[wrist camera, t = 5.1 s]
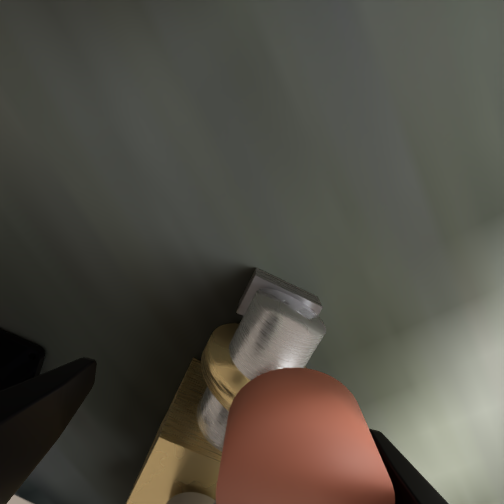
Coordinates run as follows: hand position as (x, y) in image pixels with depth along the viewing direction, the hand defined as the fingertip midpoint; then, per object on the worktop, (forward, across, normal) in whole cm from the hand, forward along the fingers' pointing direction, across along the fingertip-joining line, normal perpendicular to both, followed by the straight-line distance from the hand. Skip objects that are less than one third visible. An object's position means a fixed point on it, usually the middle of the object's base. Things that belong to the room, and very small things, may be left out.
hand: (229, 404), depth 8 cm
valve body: (+7, 0, +8) cm, 11 cm away
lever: (+2, -1, +4) cm, 4 cm away
